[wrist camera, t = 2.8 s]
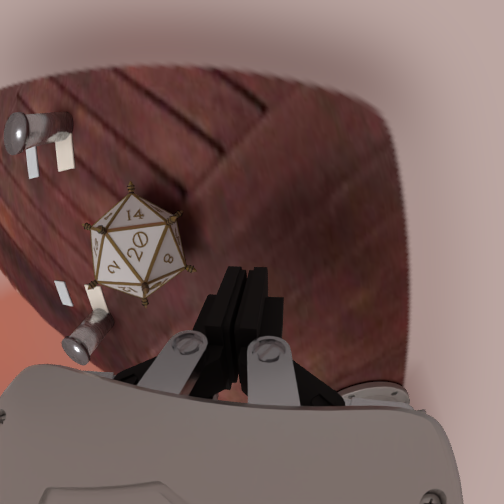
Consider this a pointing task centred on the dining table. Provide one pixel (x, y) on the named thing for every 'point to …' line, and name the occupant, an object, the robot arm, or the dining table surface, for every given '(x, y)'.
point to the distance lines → (64, 162)
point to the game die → (136, 247)
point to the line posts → (39, 133)
